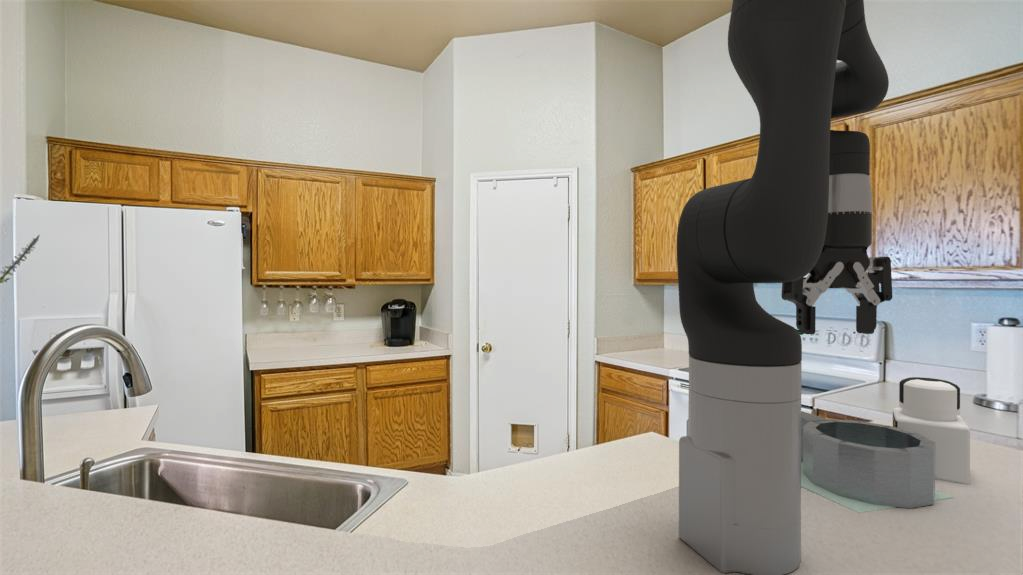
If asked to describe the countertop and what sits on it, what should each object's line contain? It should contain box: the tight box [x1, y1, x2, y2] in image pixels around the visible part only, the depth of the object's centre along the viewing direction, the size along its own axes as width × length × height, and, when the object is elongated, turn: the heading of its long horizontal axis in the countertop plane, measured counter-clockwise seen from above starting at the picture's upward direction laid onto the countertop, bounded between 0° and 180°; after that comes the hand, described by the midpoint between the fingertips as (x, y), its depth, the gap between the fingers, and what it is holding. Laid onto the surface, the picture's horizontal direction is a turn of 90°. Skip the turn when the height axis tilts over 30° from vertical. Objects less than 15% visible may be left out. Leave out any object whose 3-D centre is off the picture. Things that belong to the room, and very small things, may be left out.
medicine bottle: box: [892, 376, 971, 485], centre depth 64 cm, size 7×7×12 cm
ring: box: [801, 410, 936, 509], centre depth 61 cm, size 12×18×6 cm
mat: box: [801, 462, 954, 514], centre depth 61 cm, size 14×17×1 cm
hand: (836, 333), depth 65 cm, fingers open, 8 cm apart
